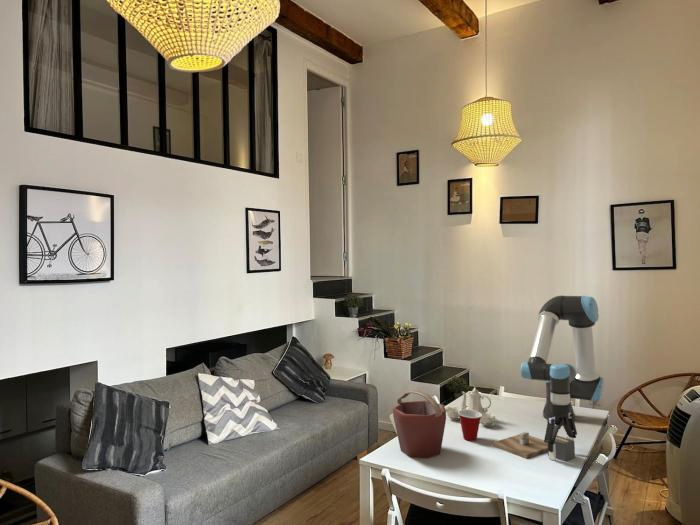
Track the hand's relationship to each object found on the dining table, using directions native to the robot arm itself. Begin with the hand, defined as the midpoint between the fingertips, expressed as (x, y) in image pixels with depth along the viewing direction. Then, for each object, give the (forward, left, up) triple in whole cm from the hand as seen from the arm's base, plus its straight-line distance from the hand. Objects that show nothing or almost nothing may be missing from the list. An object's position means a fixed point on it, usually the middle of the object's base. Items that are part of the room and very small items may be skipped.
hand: (561, 456), depth 219 cm
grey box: (0, 0, 0) cm, 0 cm away
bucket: (+41, -39, 0) cm, 57 cm away
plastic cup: (+14, -37, 0) cm, 40 cm away
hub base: (+3, -16, 0) cm, 16 cm away
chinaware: (-6, -55, -1) cm, 55 cm away
